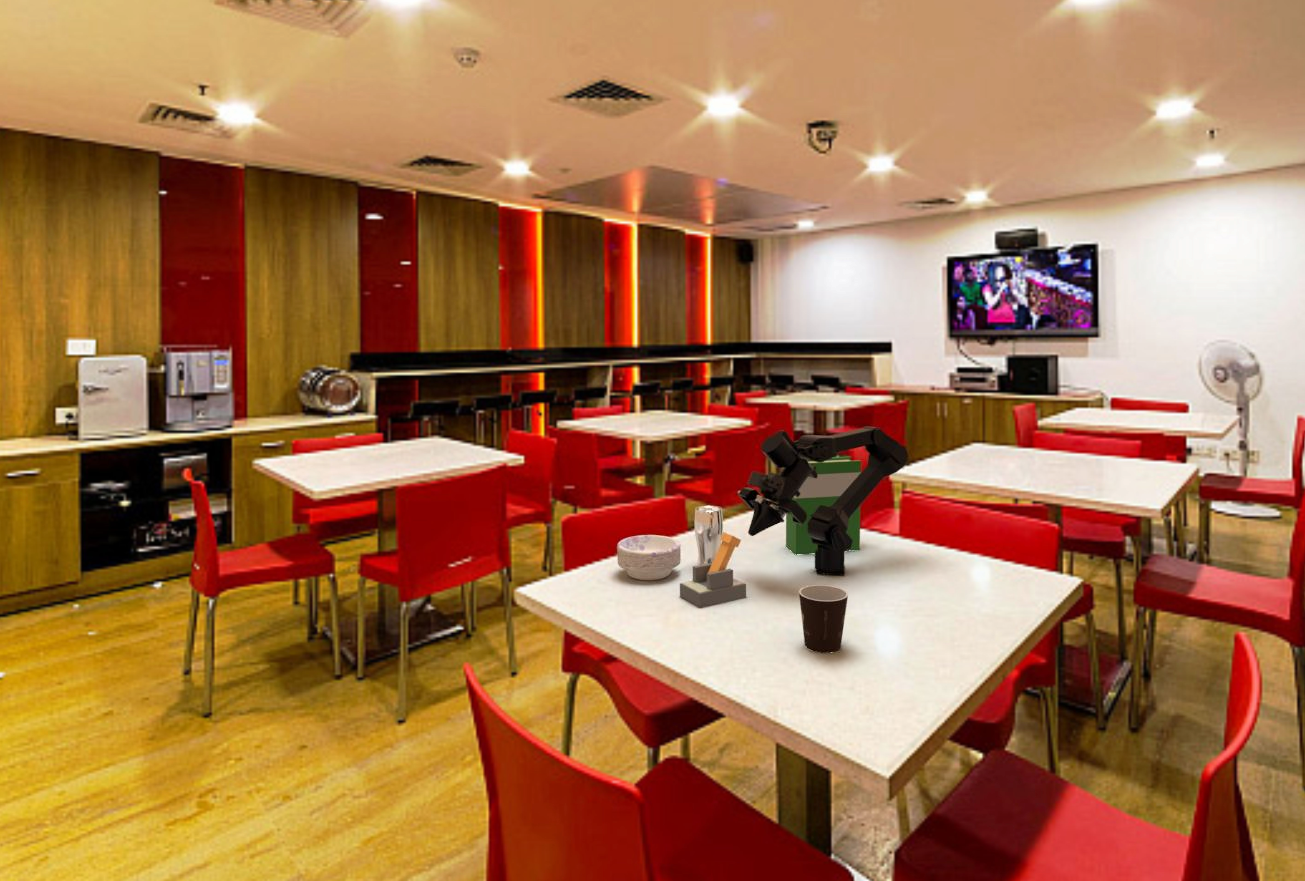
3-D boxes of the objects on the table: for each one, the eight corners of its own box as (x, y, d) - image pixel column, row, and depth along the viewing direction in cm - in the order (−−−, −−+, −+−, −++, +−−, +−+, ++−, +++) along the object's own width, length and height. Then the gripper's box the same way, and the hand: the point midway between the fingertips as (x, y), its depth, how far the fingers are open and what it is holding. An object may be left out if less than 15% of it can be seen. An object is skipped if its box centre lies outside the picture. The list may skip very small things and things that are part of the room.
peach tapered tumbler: (721, 573, 175) (721, 512, 173) (693, 571, 176) (692, 511, 174) (724, 564, 182) (724, 505, 180) (697, 563, 183) (696, 505, 181)
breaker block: (725, 586, 165) (725, 559, 164) (746, 597, 158) (746, 568, 157) (680, 596, 159) (679, 567, 158) (699, 607, 152) (699, 577, 151)
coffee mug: (809, 632, 138) (809, 582, 137) (853, 642, 133) (854, 590, 132) (783, 654, 129) (784, 600, 127) (830, 666, 124) (831, 609, 123)
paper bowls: (668, 587, 165) (667, 554, 164) (607, 581, 171) (606, 548, 170) (689, 568, 179) (689, 537, 178) (632, 562, 185) (632, 532, 184)
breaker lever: (711, 581, 160) (731, 536, 162) (720, 586, 157) (741, 540, 158) (702, 577, 159) (723, 532, 160) (711, 582, 156) (732, 535, 157)
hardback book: (847, 543, 199) (849, 456, 196) (859, 550, 192) (861, 460, 188) (785, 547, 196) (786, 459, 193) (795, 555, 189) (796, 463, 185)
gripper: (744, 453, 170) (705, 505, 166) (796, 463, 154) (754, 521, 150) (771, 482, 175) (733, 533, 171) (824, 496, 159) (784, 552, 155)
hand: (750, 534), depth 162 cm, fingers closed
